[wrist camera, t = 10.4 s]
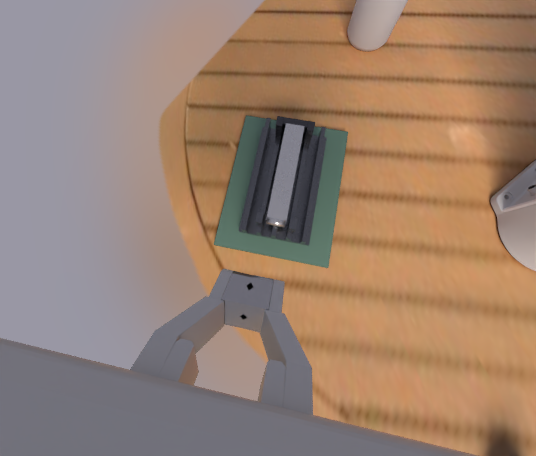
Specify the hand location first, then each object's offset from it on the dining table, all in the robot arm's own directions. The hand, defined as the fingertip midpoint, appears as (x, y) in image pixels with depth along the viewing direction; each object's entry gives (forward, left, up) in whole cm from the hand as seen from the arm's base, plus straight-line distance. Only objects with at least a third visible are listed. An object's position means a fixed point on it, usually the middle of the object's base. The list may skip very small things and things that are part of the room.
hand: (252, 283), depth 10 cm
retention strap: (-13, -8, -20) cm, 25 cm away
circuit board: (-13, -8, -25) cm, 30 cm away
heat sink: (-13, -8, -25) cm, 30 cm away
